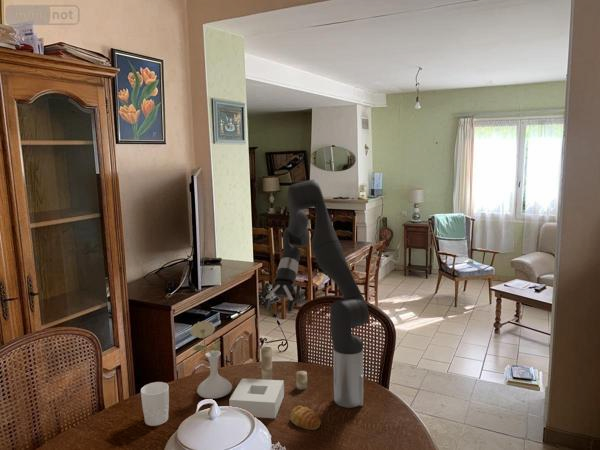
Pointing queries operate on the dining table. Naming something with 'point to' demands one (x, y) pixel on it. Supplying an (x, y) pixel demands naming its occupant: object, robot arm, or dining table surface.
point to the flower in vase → (214, 383)
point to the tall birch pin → (266, 363)
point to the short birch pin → (301, 380)
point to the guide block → (258, 396)
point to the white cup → (155, 403)
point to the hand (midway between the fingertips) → (277, 310)
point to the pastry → (305, 418)
